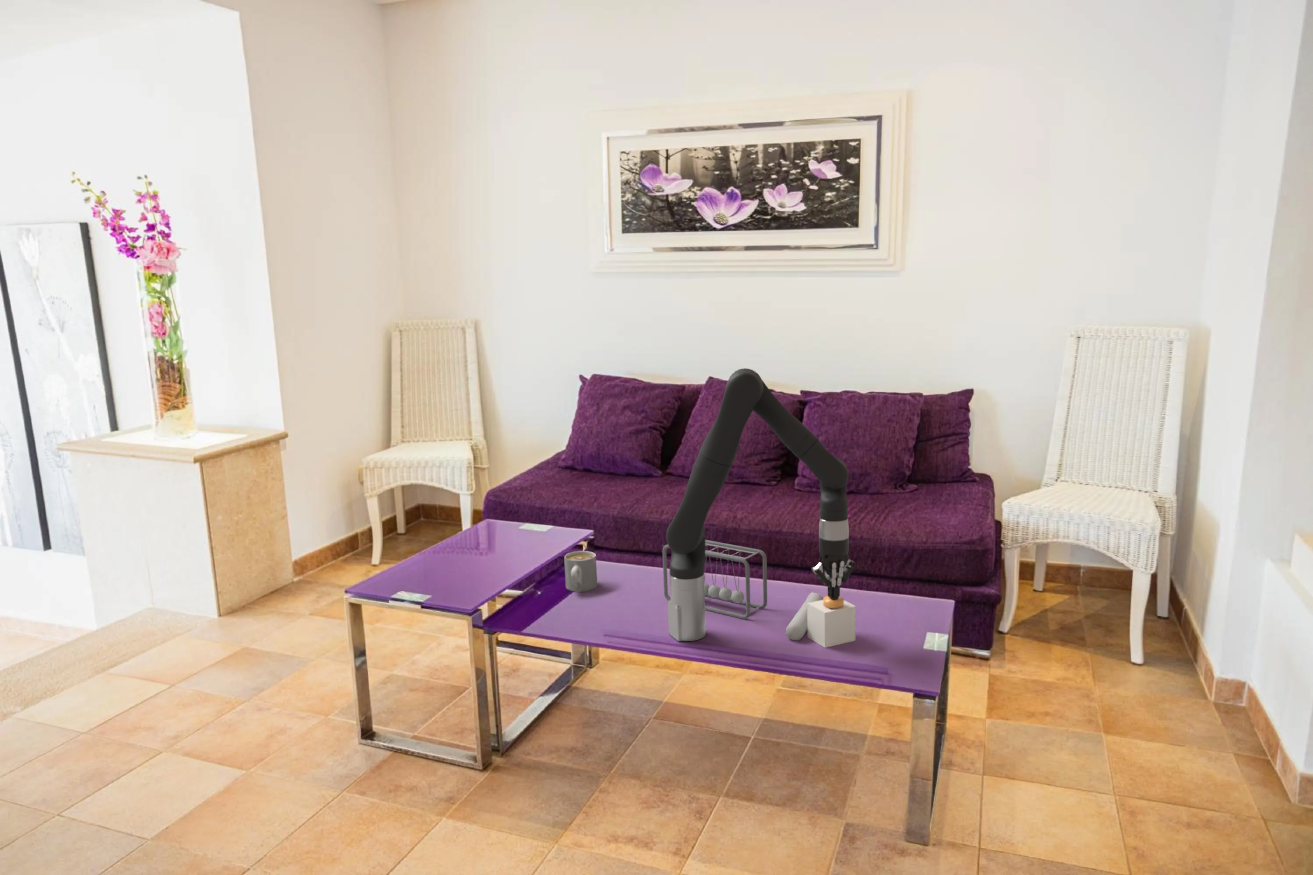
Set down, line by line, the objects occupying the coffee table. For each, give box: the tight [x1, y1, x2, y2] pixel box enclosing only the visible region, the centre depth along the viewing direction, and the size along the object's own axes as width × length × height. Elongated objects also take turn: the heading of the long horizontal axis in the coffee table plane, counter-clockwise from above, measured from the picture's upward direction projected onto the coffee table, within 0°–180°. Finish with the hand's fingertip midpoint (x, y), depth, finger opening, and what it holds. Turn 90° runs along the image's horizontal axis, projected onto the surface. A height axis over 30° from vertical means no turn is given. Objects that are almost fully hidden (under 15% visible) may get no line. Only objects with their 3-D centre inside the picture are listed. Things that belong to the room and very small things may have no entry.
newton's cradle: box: [662, 539, 768, 620], centre depth 264 cm, size 30×10×18 cm, turn 53°
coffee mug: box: [563, 550, 598, 593], centre depth 283 cm, size 13×10×10 cm
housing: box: [806, 600, 857, 649], centre depth 237 cm, size 10×8×10 cm
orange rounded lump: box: [823, 595, 844, 610], centre depth 236 cm, size 5×5×4 cm
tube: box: [785, 592, 825, 641], centre depth 248 cm, size 5×5×25 cm
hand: (833, 598), depth 235 cm, fingers closed
